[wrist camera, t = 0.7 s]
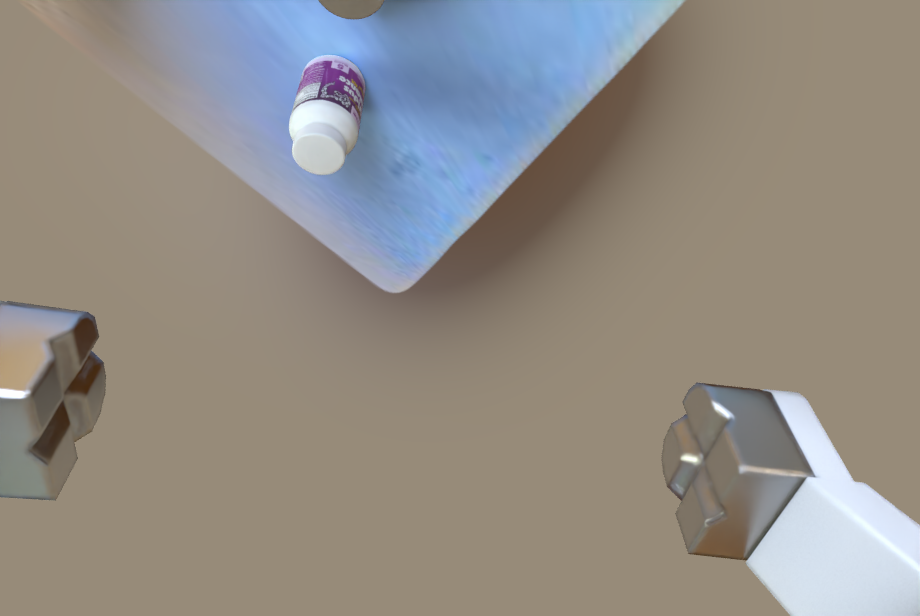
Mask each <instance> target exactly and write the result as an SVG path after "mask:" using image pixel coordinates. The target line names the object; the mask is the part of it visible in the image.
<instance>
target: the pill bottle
mask: <svg viewBox="0 0 920 616" xmlns="http://www.w3.org/2000/svg"><path fill="white" fill-rule="evenodd" d="M364 96H365V80H364V78H363V75H362V73H361V72H360V70H359V69H358V67H357V66H356V65H355V64H353V63H352V62H351V61H349V60H348V59H345V58H343V57H340V56H336V55H323V56H320V57H317V58H315V59H313V60H311V61H310V62H309V63H308V64H307V65H306V67H305V69H304V71H303V73H302V77H301V80H300V84H299V88H298V91H297V95H296V99H295V103H294V106H293V110H292V114H291V117H290V122H289V131H290V135H291V138H292V140H293V147H292V154H293V157H294V159H295V161H296V162H297V164H298V165H299V166H300V167H302V168H303V169H304V170H306V171H308V172H310V173H314V174H318V175H327V174H332V173H334V172H336V171H338V170H339V169H340V168H341V167H342V166H343V164H344V161H345V157H346V155H347V154H348V153H350V152H351V150H352V149H353V148H354V146H355V144H356V142H357V138H358V133H359V128H360V121H361V115H362V109H363V102H364Z"/></svg>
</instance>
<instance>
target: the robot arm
mask: <svg viewBox="0 0 920 616" xmlns="http://www.w3.org/2000/svg"><path fill="white" fill-rule="evenodd" d="M98 338H99V334H98V329H97V325H96V320H95V317H94V316H93V315H91V314H90V313H88V312H83V311H77V310H69V309H62V308H55V307H47V306H40V305H33V304H25V303H18V302H11V301H7V302H4V301H0V497H7V498H23V499H40V500H56V499H57V497H58V495H59V493H60V491H61V490H62V488H63V486H64V484H65V482H66V480H67V478H68V476H69V474H70V472H71V470H72V468H73V467H74V465H75V463H76V461H77V459H78V457H77V452H76V448H75V443H74V442H76V441H77V440H79V439H81V438H82V437H83V436H85V435H87V434H89V433H90V432H92V430H93V428H94V425H95V424H96V422H97V419H98V417H99V415H100V412H101V408H102V404H103V400H104V396H105V387H106V383H105V382H106V375H105V368H104V363H103V361H102V360H101V359H100V358H99V357H97V355H95V354H94V353H93V352H92V351H91V350H92V348H93V347H94V345H95V343H96V341H97V340H98ZM683 405H684V408H685V410H686V413H687V414H686V415H684V416H683V417H681V418H680V419H678V420H676V421H675V422H673V423H671V426H670V428H669V430H668V432H667V434H666V437H665V439H664V444H663V451H662V466H663V474H664V477H665V481H666V484H667V487H668V488H669V489H670V490H671V491H672V492H673V493H674V494H675V495H676V496H677V497H678V498H679V499H680V500H681V501H682V502H681V503H680V505H679V507H678V509H677V511H676V516H677V520H678V523H679V526H680V529H681V532H682V535H683V538H684V541H685V545H686V548H687V551H688V554H694V555H703V556H712V557H721V558H730V559H739V560H747V561H746V565H747V566H748V567H749V568H750V569H751V570H752V572H753V573H754V574H755V575H756V576H757V577H758V578H759V580H760V581H761V582H762V583H763V584H764V585H765V587H766V588H767V589H768V590H769V591H770V592H771V594H772V595H773V596H774V597H775V598H776V599H777V600H778V602H779V603H780V604H781V605H782V606H783V608H784V609H785V610H786V611H787V612H788V613H789V615H790V616H920V525H919V524H917V523H916V522H915V521H913V520H912V519H911V518H910V517H908V516H907V515H905V514H904V513H903V512H902V511H900V510H899V509H898V508H896V507H895V506H894V505H893V504H891V503H890V502H889V501H887V500H886V499H885V498H883V497H882V496H881V495H880V494H878V493H877V492H876V491H874V490H873V489H872V488H871V487H869V486H868V485H867V484H865V483H860V482H854V481H853V479H852V477H851V475H850V474H849V472H848V470H847V469H846V467H845V465H844V464H843V462H842V460H841V458H840V456H839V455H838V453H837V451H836V449H835V448H834V446H833V444H832V443H831V441H830V439H829V437H828V436H827V434H826V432H825V430H824V429H823V427H822V425H821V424H820V422H819V420H818V418H817V417H816V415H815V413H814V412H813V410H812V408H811V406H810V404H809V403H808V401H807V399H806V398H804V397H803V396H802V395H801V394H799V393H798V392H788V391H778V390H767V389H764V390H760V389H751V388H743V387H732V386H724V385H715V384H706V383H696V384H695V385H693V386H692V387H691V388H690V389H689V390H688V392H687V394H686V396H685V398H684V400H683Z"/></svg>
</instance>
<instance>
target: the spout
mask: <svg viewBox="0 0 920 616" xmlns="http://www.w3.org/2000/svg"><path fill="white" fill-rule="evenodd" d="M384 1H385V0H319V2H320V3H321V4H322V5H323V6H324V7H325V8H326V9H327V10H328V11H330V12H331V13H333V14H335V15H337V16H339V17H342V18H346V19H362V18H365V17H368V16H370V15H372V14H373V13H375V12H376V11H377V10H378V9H379V8H380V7H381V6H382V4H383V3H384Z"/></svg>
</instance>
